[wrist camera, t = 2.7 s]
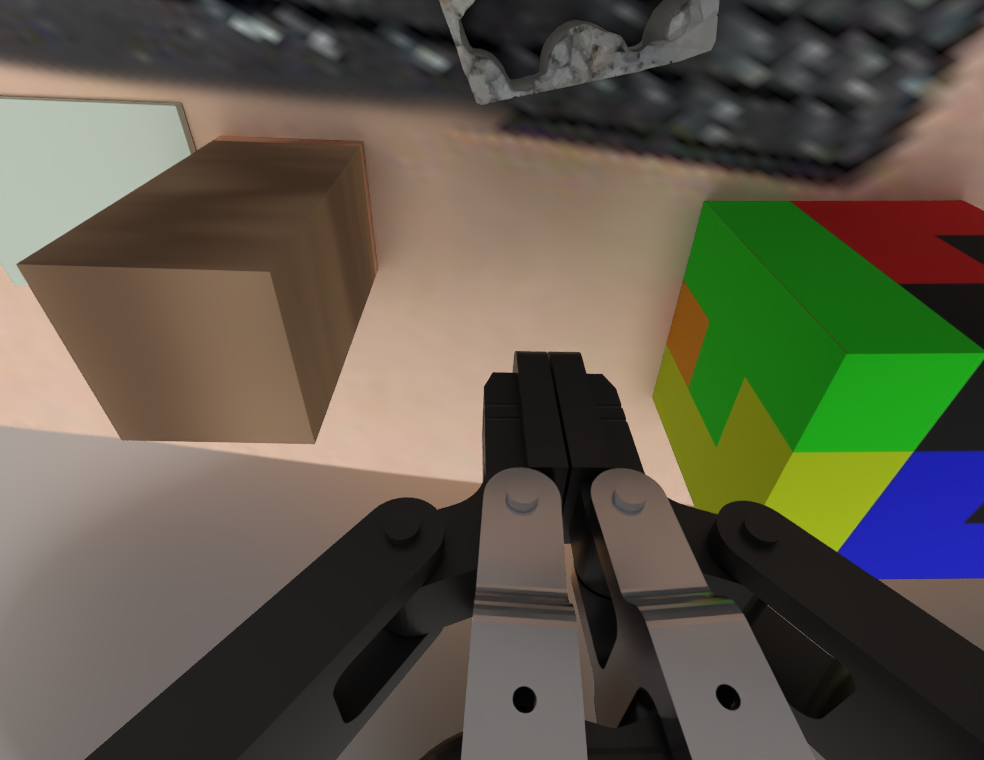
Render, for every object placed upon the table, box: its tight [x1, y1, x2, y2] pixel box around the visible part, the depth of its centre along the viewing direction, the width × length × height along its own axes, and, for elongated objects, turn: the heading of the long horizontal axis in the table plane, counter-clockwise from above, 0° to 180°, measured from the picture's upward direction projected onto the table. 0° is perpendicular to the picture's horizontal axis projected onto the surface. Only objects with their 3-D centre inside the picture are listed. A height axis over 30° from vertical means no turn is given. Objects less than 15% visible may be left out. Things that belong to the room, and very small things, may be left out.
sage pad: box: [0, 96, 196, 286], centre depth 19 cm, size 9×7×1 cm
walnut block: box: [16, 136, 378, 444], centre depth 16 cm, size 5×5×10 cm
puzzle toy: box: [652, 200, 984, 579], centre depth 19 cm, size 10×10×10 cm
